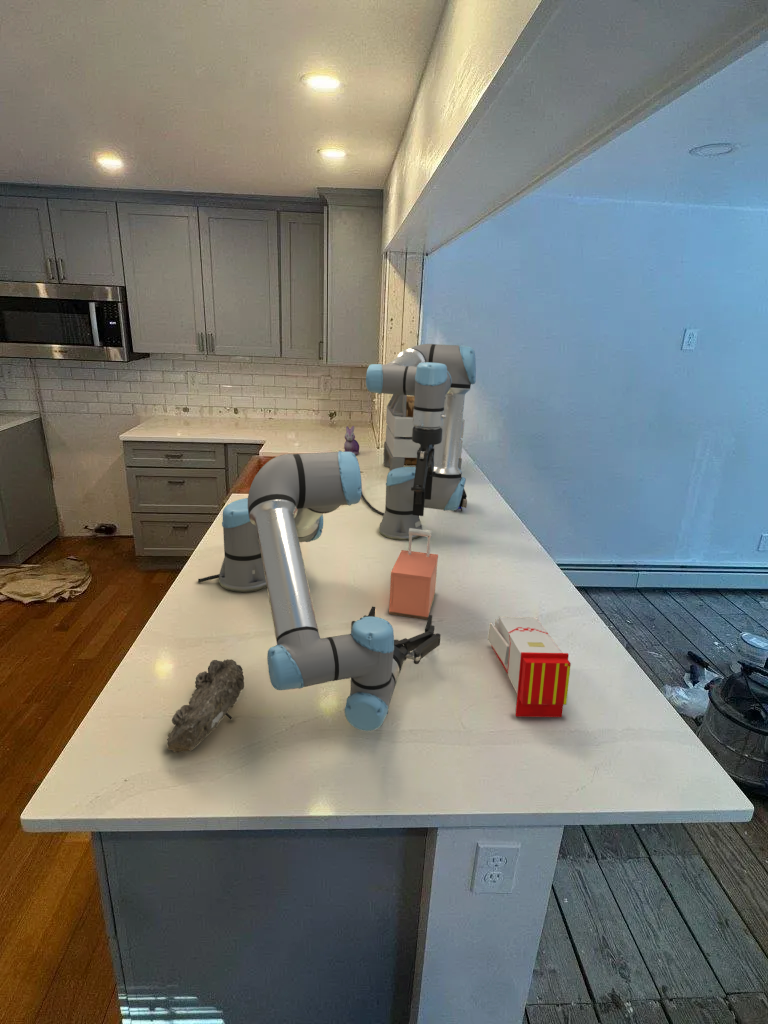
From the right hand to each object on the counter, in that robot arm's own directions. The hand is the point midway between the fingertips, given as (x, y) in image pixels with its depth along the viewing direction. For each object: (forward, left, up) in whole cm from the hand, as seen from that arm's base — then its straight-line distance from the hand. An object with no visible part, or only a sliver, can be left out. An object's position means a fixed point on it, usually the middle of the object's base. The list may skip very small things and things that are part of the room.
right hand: (422, 506), depth 149 cm
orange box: (+3, -4, -15) cm, 16 cm away
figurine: (-136, +82, -26) cm, 161 cm away
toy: (+41, -7, -26) cm, 49 cm away
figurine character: (-44, +65, -26) cm, 83 cm away
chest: (+3, -4, -26) cm, 27 cm away
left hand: (+14, -19, -19) cm, 31 cm away
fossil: (+12, -66, -26) cm, 72 cm away
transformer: (-89, +87, -26) cm, 127 cm away
